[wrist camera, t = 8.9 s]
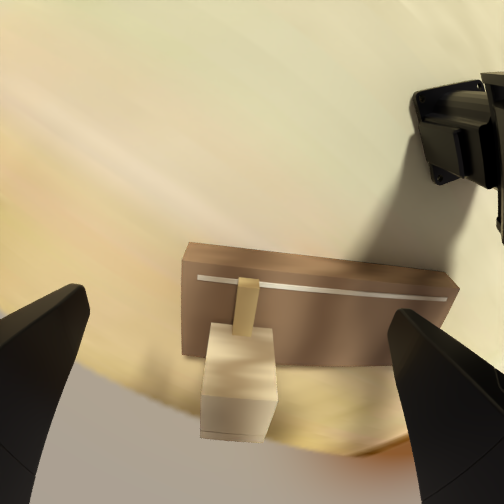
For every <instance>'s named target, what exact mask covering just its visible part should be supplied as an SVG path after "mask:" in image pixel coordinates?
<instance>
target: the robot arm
mask: <svg viewBox="0 0 504 504" xmlns="http://www.w3.org/2000/svg"><path fill="white" fill-rule="evenodd" d="M480 74H481V78H482V82H483V83H485V88H486V92H485V89H484V85H483V83H482V82H481V81H480V80H470V81H464V82H459V83H453V84H448V85H443V86H439V87H434V88H429V89H425V90H420V91H417V92H415V93H414V94H413V101H414V105H415V108H416V112H417V115H418V119H419V130H420V134H421V138H422V143H423V147H424V151H425V156H426V160H427V162H429V167H430V172H431V177H432V181H433V182H434V183H435V184H437V185H443V184H446V183H448V182H451V181H454V180H456V179H459V178H466V179H468V180H470V181H473V182H475V183H477V184H478V185H480V186H482V187H484V188H486V189H491V188H493V189H495V190H497V191H498V217H497V219H496V227H497V229H498V230H499V232H500V234H501V238H502V243H503V245H504V72H487V73H480ZM477 84H478V88H477ZM419 96H421V97H422V102H420V100H419ZM439 175H440V179H439V180H437V177H438V176H439ZM89 315H90V307H89V303H88V299H87V295H86V291H85V288H84V286H83V285H80V284H73V283H72V284H68V285H66V286H64V287H62V288H60V289H58V290H56V291H54V292H52V293H50V294H48V295H46V296H44V297H42V298H40V299H38V300H36V301H35V302H33V303H31V304H29V305H27V306H25V307H23V308H21V309H19V310H17V311H15V312H13V313H11V314H10V315H8V316H6V317H4V318H2V319H0V504H29V502H30V497H31V493H32V489H33V485H34V481H35V475H36V472H37V468H38V465H39V461H40V457H41V454H42V450H43V447H44V444H45V441H46V438H47V434H48V431H49V428H50V425H51V422H52V419H53V416H54V414H55V411H56V408H57V405H58V402H59V399H60V397H61V394H62V392H63V389H64V386H65V384H66V381H67V379H68V376H69V374H70V371H71V369H72V366H73V364H74V361H75V359H76V356H77V353H78V350H79V346H80V343H81V340H82V337H83V334H84V331H85V328H86V325H87V322H88V319H89ZM387 339H388V344H389V349H390V355H391V360H392V366H393V372H394V377H395V382H396V386H397V389H398V393H399V397H400V401H401V405H402V409H403V413H404V417H405V421H406V425H407V429H408V434H409V438H410V442H411V447H412V452H413V457H414V462H415V466H416V472H417V477H418V483H419V489H420V496H421V501H422V504H504V374H503V373H502V372H500V371H499V370H497V369H495V368H494V367H493V366H492V365H491V364H489V363H488V362H486V361H485V360H484V359H482V358H481V357H480V356H478V355H477V354H475V353H474V352H473V351H471V350H470V349H468V348H467V347H466V346H464V345H463V344H461V343H460V342H458V341H457V340H456V339H454V338H453V337H451V336H450V335H448V334H447V333H446V332H444V331H443V330H441V329H440V328H438V327H437V326H435V325H434V324H433V323H431V322H430V321H428V320H427V319H425V318H424V317H422V316H421V315H419V314H418V313H416V312H415V311H413V310H412V309H410V308H399V309H397V310H396V312H395V314H394V316H393V319H392V321H391V324H390V326H389V328H388V332H387Z"/></svg>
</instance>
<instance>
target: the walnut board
mask: <svg viewBox="0 0 504 504" xmlns="http://www.w3.org/2000/svg"><path fill="white" fill-rule="evenodd" d="M239 277H242V278H252V279H259V285H260V290H259V296H258V301H257V307H256V313H255V318H254V324H253V327H260V328H271V329H272V332H273V343H274V355H275V364H281V365H302V366H391V365H392V360H391V355H390V349H389V344H388V339H387V332H388V328H389V326H390V324H391V321H392V319H393V316H394V314H395V312H396V310H397V309H399V308H410V309H412V310H413V311H415V312H416V313H418V314H419V315H421V316H422V317H424V318H425V319H427V320H428V321H430V322H431V323H433V324H434V325H435V326H437V327H438V328H440V327H441V326H442V324H443V322H444V320H445V318H446V316H447V314H448V312H449V310H450V308H451V306H452V304H453V302H454V300H455V298H456V296H457V294H458V292H459V290H460V288H459V287H458V286H457V285H456V284H455V282H454V281H453V280H452V279H451V278H450V277H449V276H448V275H447V274H446V273H445V272H441V271H432V270H424V269H415V268H407V267H398V266H390V265H382V264H373V263H365V262H356V261H347V260H339V259H330V258H322V257H313V256H305V255H296V254H287V253H279V252H270V251H261V250H253V249H244V248H235V247H227V246H218V245H209V244H200V243H192V242H189V244H188V246H187V249H186V251H185V254H184V256H183V259H182V277H181V336H182V355H188V356H196V357H203V358H206V355H207V348H208V341H209V334H210V328H211V322H212V323H220V324H229V325H233V319H234V311H235V303H236V295H237V287H238V280H239Z"/></svg>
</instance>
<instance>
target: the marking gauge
mask: <svg viewBox="0 0 504 504" xmlns="http://www.w3.org/2000/svg"><path fill="white" fill-rule="evenodd" d="M259 290H260V285H259V279H252V278H242V277H239V280H238V287H237V295H236V303H235V311H234V319H233V325H229V324H220V323H212V322H211V328H210V334H209V341H208V348H207V355H206V362H205V368H204V376H203V383H202V390H201V415H200V438H205V439H214V440H225V441H237V442H253V443H263V441H264V439H265V435H266V433H267V431H268V428H269V425H270V423H271V420H272V417H273V414H274V411H275V409H276V406H277V403H278V391H277V379H276V367H275V355H274V343H273V332H272V329H271V328H260V327H253V324H254V318H255V313H256V307H257V301H258V296H259Z"/></svg>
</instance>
